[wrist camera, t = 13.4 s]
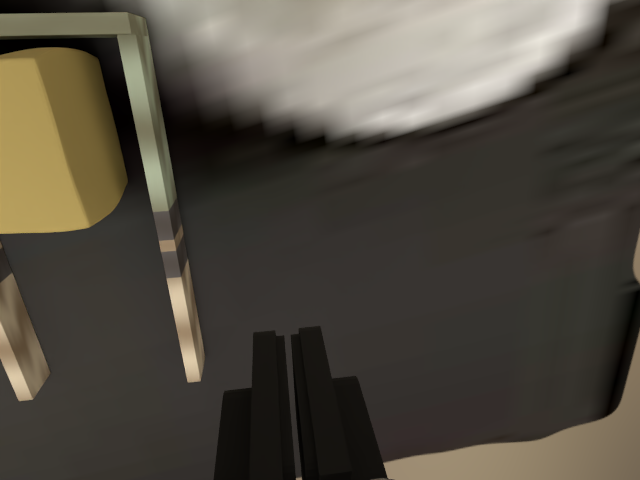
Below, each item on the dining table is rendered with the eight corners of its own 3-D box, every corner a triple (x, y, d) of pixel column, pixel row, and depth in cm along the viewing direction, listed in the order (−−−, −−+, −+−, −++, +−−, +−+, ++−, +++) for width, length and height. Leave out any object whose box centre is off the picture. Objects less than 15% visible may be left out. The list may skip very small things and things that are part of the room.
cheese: (7, 198, 34) (-86, 249, 25) (-47, 55, 29) (-185, 54, 20) (137, 187, 35) (94, 233, 26) (104, 48, 30) (37, 44, 21)
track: (-103, 22, 28) (-164, 16, 24) (145, 18, 30) (127, 12, 26) (37, 374, 41) (13, 409, 37) (205, 356, 43) (199, 388, 39)
